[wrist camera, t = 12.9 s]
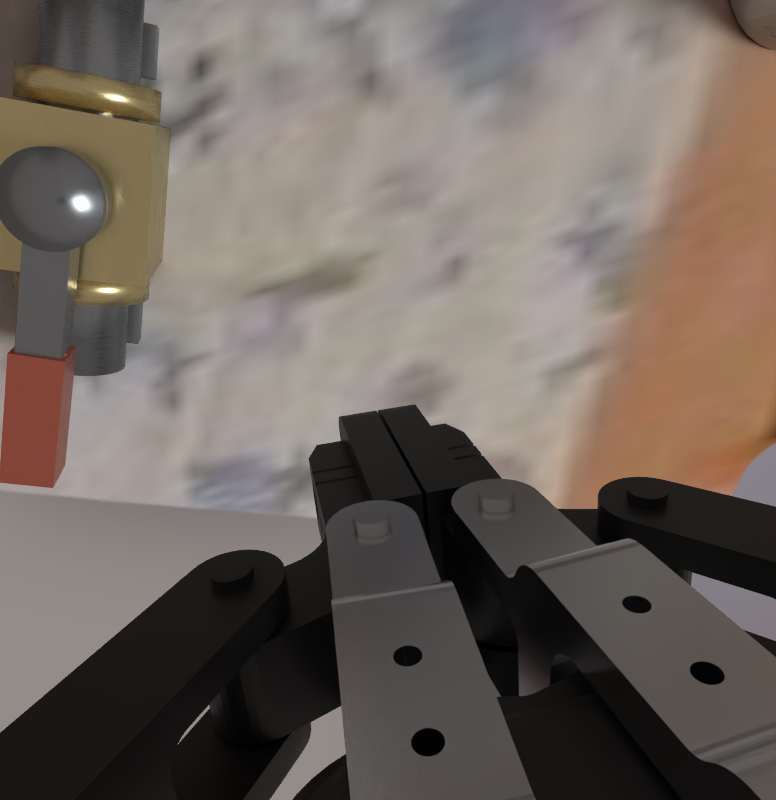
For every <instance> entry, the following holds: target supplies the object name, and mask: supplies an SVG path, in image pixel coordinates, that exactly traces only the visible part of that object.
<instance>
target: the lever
mask: <svg viewBox="0 0 776 800" xmlns="http://www.w3.org/2000/svg"><path fill="white" fill-rule="evenodd" d="M112 208H113V196H112V191H111V187H110V185H109V182H108V180H107V178H106V176H105V175H104V173H103V172H102V170H101V169H100V168H99V167H98V165H97V164H95V163H94V162H93V161H92V160H91V159H90V158H88V157H87V156H85V155H84V154H82V153H80V152H78V151H75V150H73V149H69V148H65V147H55V146H36V147H29V148H25V149H22V150H19V151H17V152H15V153H14V154H12V155H10V156H9V157H8V158H7V159H6V160H5V161H4V162H3V163H2V164H1V166H0V220H1V222H2V223H3V225H4V226H5V227H6V229H7V230H8V231H9V232H10V233H11V234H12V235H13V236H14V237H16V238H17V239H18V240H20V241H21V242H22V249H21V263H20V278H19V292H18V307H17V321H16V336H15V347H14V348H13V349H12V350H11V351H10V352H9V353H8V355H7V370H6V385H5V401H4V416H3V431H2V446H1V461H0V483H10V484H20V485H30V486H39V487H49V488H53V487H54V485H55V483H56V482H57V480H58V478H59V476H60V474H61V472H62V470H63V468H64V466H65V460H66V450H67V440H68V429H69V419H70V409H71V398H72V388H73V378H74V367H75V357H76V347H75V346H71V340H72V330H73V319H74V308H75V298H76V287H77V277H78V266H79V255H80V246H82V245H83V244H85V243H87V242H88V241H90V240H91V239H93V238H94V237H96V236H97V235H98V234H99V233H100V232H101V231H102V230H103V229H104V228H105V226H106V225H107V223H108V221H109V219H110V217H111V214H112Z"/></svg>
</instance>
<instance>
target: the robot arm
mask: <svg viewBox="0 0 776 800" xmlns="http://www.w3.org/2000/svg"><path fill="white" fill-rule="evenodd" d="M730 1H731V6H732V9H733V11H734V14H735V16H736V18H737V21H738V23H739V24H740V26H741V27H742V28H743V30H744V31H745V33H746V34H747V35H748V36H749V37H750V38H752V39H753V40H754V41H755V42H756V43H758V44H760V45H762V46H764V47H766V48H769V49H772V50H776V0H730ZM339 430H340V438H341V441H339V442H333V443H327V444H321V445H317V446H316V448H315V449H314V451H313V452H312V454H311V456H310V457H309V463H310V470H311V477H312V484H313V491H314V498H315V506H316V513H317V520H318V526H319V531H320V535H321V540H322V543H321V544H320V546H319V547H318V548H317V549H316V550H315V551H313V552H312V553H311V554H309V555H308V556H306V557H304V558H303V559H301V560H299V561H297V562H294V563H292V564H290V565H287V566H285V567H284V565H283V563H282V561H281V560H280V559H279V558H278V557H276V556H275V555H272V554H270V553H268V552H265V551H259V550H238V551H232V552H228V553H224V554H221V555H218V556H215V557H213V558H211V559H209V560H206V561H205V562H203V563H201V564H200V565H198V566H197V567H196V568H194V569H193V570H192V571H191V572H189V573H188V574H187V575H186V576H185V577H184V578H182V579H181V580H180V581H179V582H178V583H176V584H175V585H174V586H173V587H172V588H171V589H169V590H168V591H167V592H166V593H165V594H163V595H162V596H161V597H160V598H159V599H158V600H156V601H155V602H154V603H153V604H152V605H150V606H149V607H148V608H147V609H146V610H145V611H143V612H142V613H141V614H140V615H139V616H137V618H135V619H134V620H133V621H132V622H130V623H129V624H128V625H127V626H126V627H125V628H123V629H122V630H121V631H120V632H119V633H118V634H116V635H115V636H114V637H113V638H112V639H110V640H109V641H108V642H107V643H106V644H104V645H103V646H102V647H101V648H100V649H99V650H97V651H96V652H95V653H94V654H93V655H91V656H90V657H89V658H88V659H87V660H86V661H84V662H83V663H82V664H81V665H80V666H78V667H77V668H76V669H75V670H74V671H73V672H71V673H70V674H69V675H68V676H67V677H65V679H63V680H62V681H61V682H60V683H58V684H57V685H56V686H55V687H54V688H53V689H51V690H50V691H49V692H48V693H47V694H45V695H44V696H43V697H42V698H41V699H40V700H38V701H37V702H36V703H35V704H34V705H32V707H30V708H29V709H28V710H27V711H25V712H24V713H23V714H22V715H21V716H19V717H18V718H17V719H16V720H15V721H14V722H12V723H11V724H10V725H9V726H8V727H6V728H5V729H4V730H3V731H2V732H1V733H0V800H270V798H271V797H272V795H273V794H274V793H275V791H276V790H277V788H278V787H279V785H280V784H281V782H282V781H283V779H284V778H285V776H286V775H287V773H288V772H289V770H290V769H291V768H292V766H293V765H294V763H295V762H296V760H297V759H298V757H299V756H300V754H301V753H302V751H303V750H304V748H305V747H306V745H307V743H308V740H309V738H310V733H311V722H312V721H314V720H315V719H317V718H319V717H321V716H323V715H325V714H327V713H328V712H330V711H332V710H334V709H336V708H338V707H340V706H341V707H342V716H343V728H344V738H345V748H346V754H345V755H344V756H342V757H341V758H339V759H338V760H336V761H335V762H333V763H331V764H330V765H328V766H327V767H326V768H325V769H324V770H322V771H321V772H320V773H319V774H317V775H316V776H315V777H314V778H313V779H311V780H310V781H309V783H307V784H306V786H305V787H303V789H301V791H300V792H299V793H298V794H297V795H296V796H295V797H294V798H293V800H776V641H773V640H771V639H768V638H765V637H762V636H759V635H756V634H753V633H751V632H748V631H745V630H743V629H741V628H740V627H739V626H738V625H737V624H736V623H734V622H733V621H732V620H731V619H729V618H728V617H727V616H726V615H725V614H724V613H722V612H721V611H720V610H719V609H718V608H716V607H715V606H714V605H713V604H712V603H710V602H709V601H708V600H707V599H706V598H705V597H703V596H702V595H701V594H700V593H699V592H697V591H696V590H695V589H694V588H693V587H691V579H692V578H691V577H692V572H693V573H696V574H700V575H703V576H706V577H709V578H712V579H715V580H719V581H722V582H725V583H728V584H731V585H734V586H738V587H741V588H744V589H747V590H750V591H754V592H757V593H760V594H763V595H767V596H770V597H772V598H774V599H776V507H774V506H770V505H766V504H762V503H758V502H753V501H749V500H745V499H741V498H737V497H733V496H729V495H724V494H720V493H716V492H712V491H708V490H704V489H699V488H695V487H691V486H687V485H683V484H679V483H674V482H670V481H666V480H661V479H656V478H649V477H629V478H622V479H618V480H615V481H612V482H610V483H608V484H606V485H605V486H603V487H602V488H601V489H600V491H599V494H598V509H557V508H556V507H554V506H553V505H552V504H551V503H550V502H549V501H548V500H547V499H546V498H545V497H544V496H543V495H542V494H540V493H539V492H538V491H537V490H536V489H535V488H533V487H531V486H530V485H528V484H525V483H522V482H519V481H515V480H509V479H502V478H501V477H500V476H499V475H498V473H497V472H496V471H495V470H494V469H493V467H492V466H491V465H490V464H489V462H488V461H487V460H486V459H485V458H484V456H481V453H480V451H479V450H478V449H477V448H476V447H475V446H473V443H472V442H471V440H470V439H469V438H468V437H467V436H466V434H465V433H464V432H462V431H460V430H458V429H456V428H454V427H451V426H449V425H447V424H440V425H434V426H430V424H429V423H428V422H427V420H426V419H425V417H424V416H423V415H422V413H421V412H420V410H419V409H418V408H417V406H416V405H408V406H402V407H396V408H389V409H383V410H378V413H377V411H372V412H365V413H359V414H353V415H347V416H341V417H339ZM208 705H209V706H210V709H209V710H208V711H207V712H206V713H205V714H204V716H203V717H202V718H201V719H200V720H199V722H197V723H196V725H195V726H194V727H193V728H192V729H191V730H190V731H189V733H188V734H187V735H186V736H185V737H184V738H183V739H182V741H181V742H180V743H179V744H178V742H179V740H180V739H181V737H182V735H183V734H184V732H185V731H186V730H187V729H188V727H189V726H190V725H191V724H192V723H193V722H194V721H195V720H196V718H197V717H198V716H199V715H200V714H201V713H202V712H203V711H204V709H205V708H206V707H207V706H208ZM177 744H178V745H177Z"/></svg>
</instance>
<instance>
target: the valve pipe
mask: <svg viewBox="0 0 776 800" xmlns="http://www.w3.org/2000/svg"><path fill="white" fill-rule="evenodd" d="M144 3H145V0H39V45H38V64H32V63H24V62H13V96H16V97H21V98H26V99H31V100H36V101H38V104H36V103H31V102H25V101H20V100H14V99H9V98H4V97H0V166H1V164H2V163H3V162H4V161H5V160H6V159H7V158H8V157H9V156H10V155H12V154H14V153H15V152H17V151H19V150H22V149H25V148H29V147H36V146H55V147H65V148H69V149H73V150H75V151H78V152H80V153H82V154H84V155H85V156H87V157H88V158H90V159H91V160H92V161H93V162H94V163H95V164H97V165H98V167H99V168H100V169H101V170H102V172H103V173H104V175H105V176H106V178H107V180H108V182H109V185H110V187H111V191H112V196H113V208H112V214H111V217H110V219H109V221H108V223H107V225H106V226H105V228H104V229H103V230H102V231H101V232H100V233H99V234H98V235H97V236H96V237H94V238H93V239H91V240H90V241H88V242H87V243H85V244H83V245H82V246H80V255H79V266H78V277H77V287H76V298H75V308H74V319H73V330H72V340H71V346H75V347H76V357H75V367H74V375H77V376H97V375H106V374H112V373H116V372H118V371H121V370H122V369H124V367H125V359H126V343H135V344H138V343H139V341H140V339H141V322H142V306H143V302H145V301H147V300H148V299H149V287H150V279H151V278H152V276H153V274H154V273H155V271H156V269H157V268H158V266H159V265H160V263H161V261H162V254H163V239H164V224H165V209H166V194H167V180H168V165H169V150H170V135H171V130H169V129H166V128H163V127H159V126H156V125H151V124H145V123H140V122H138V120H143V121H149V122H155V123H160V111H161V95H162V92H160V91H157V90H154V89H151V88H147V87H144V86H140V78H141V77H143V78H148V79H153V80H156V72H157V55H158V38H159V28H158V27H157V25H152V24H148V23H143V22H144ZM21 249H22V242H21V241H20V240H18V239H17V238H16V237H14V236H13V235H12V234H11V233H10V232H9V231H8V230H7V229H6V227H5V226H4V225H3V223H2V222H1V220H0V269H1V270H9V271H13V287H14V288H15V290H17V291H18V292H19V278H20V263H21Z"/></svg>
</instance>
